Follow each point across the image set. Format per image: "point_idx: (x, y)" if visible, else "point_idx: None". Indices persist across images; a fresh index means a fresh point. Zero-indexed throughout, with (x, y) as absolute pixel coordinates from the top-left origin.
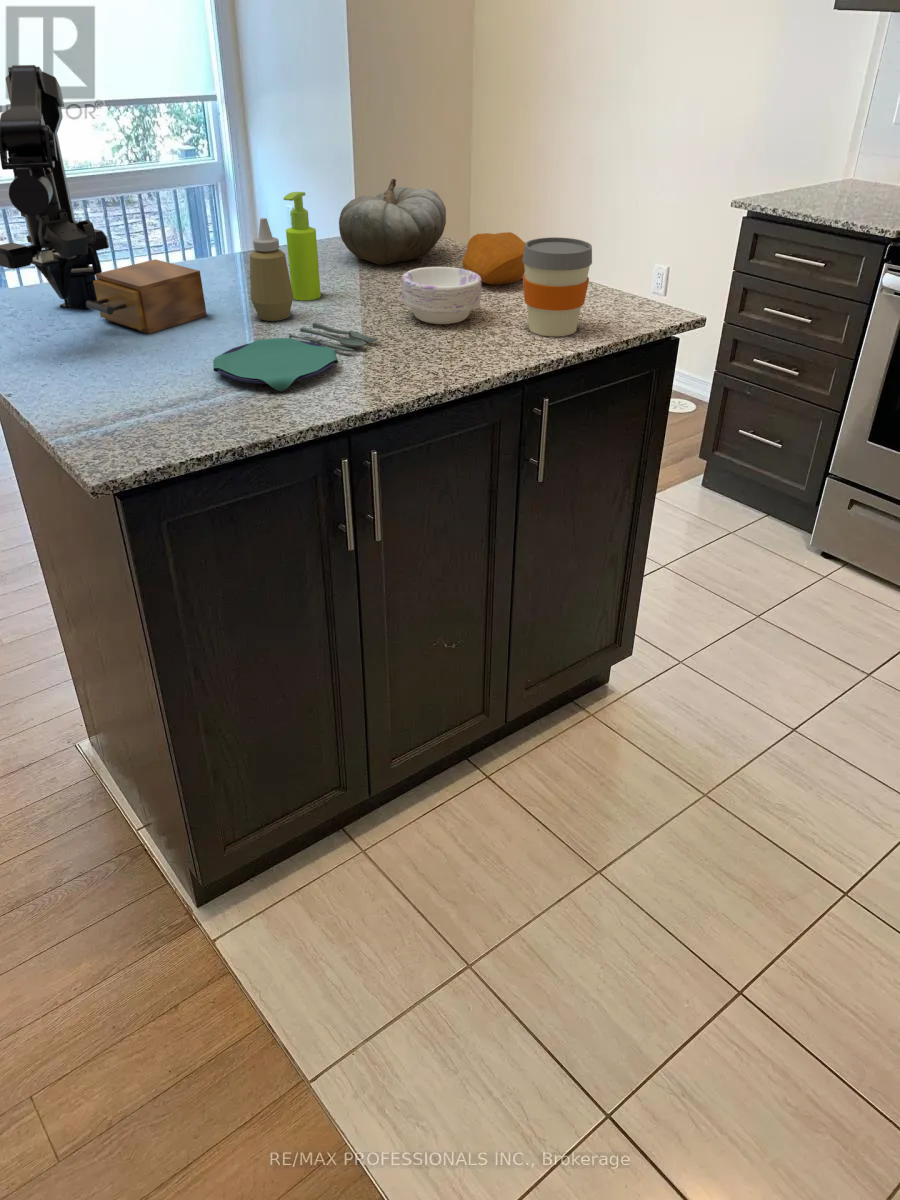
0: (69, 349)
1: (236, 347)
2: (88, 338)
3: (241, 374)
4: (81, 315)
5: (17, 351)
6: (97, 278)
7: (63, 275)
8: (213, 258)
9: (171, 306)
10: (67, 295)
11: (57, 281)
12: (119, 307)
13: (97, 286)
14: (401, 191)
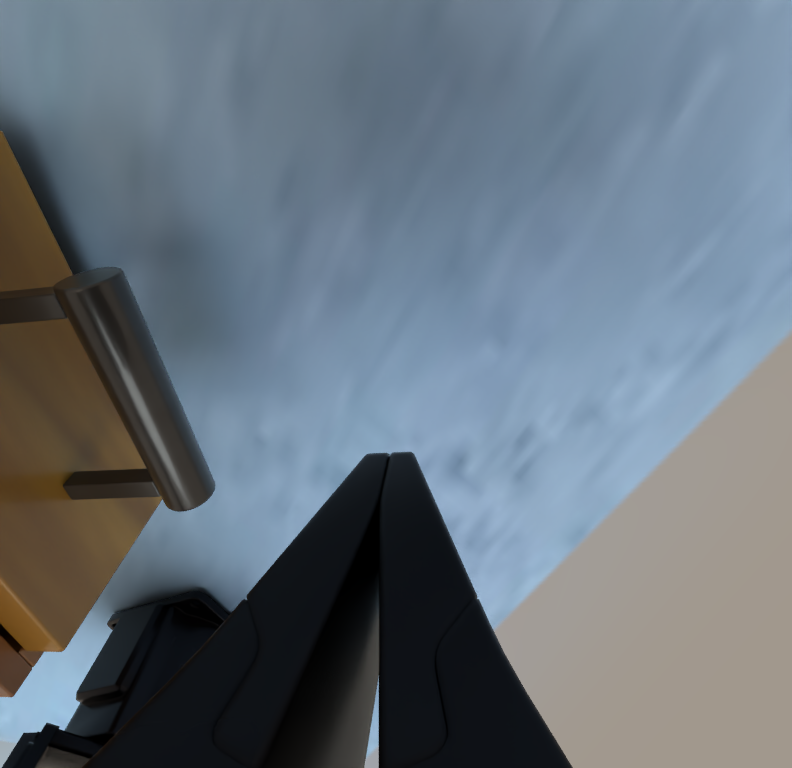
0: (498, 208)
1: None
2: (324, 308)
3: None
4: (234, 569)
5: (693, 382)
6: (26, 661)
7: (312, 671)
8: None
9: None
10: (358, 466)
11: (449, 603)
12: (4, 293)
13: (62, 598)
14: None
